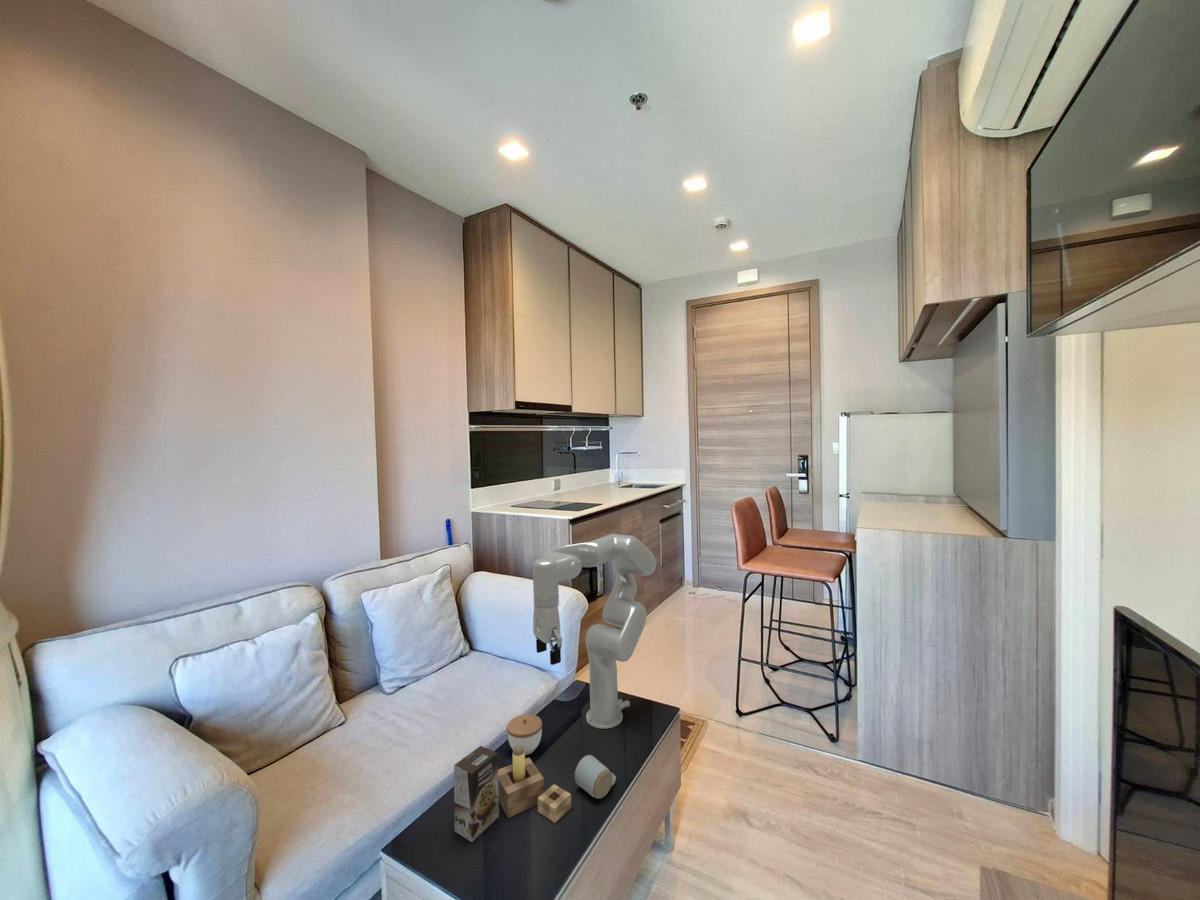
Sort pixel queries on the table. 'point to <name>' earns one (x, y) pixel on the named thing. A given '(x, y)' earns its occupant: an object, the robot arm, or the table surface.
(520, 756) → the tan cylindrical rod
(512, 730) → the lidded jar
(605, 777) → the ceramic mug
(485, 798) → the coffee box
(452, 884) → the table surface
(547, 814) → the loose bead
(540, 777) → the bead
